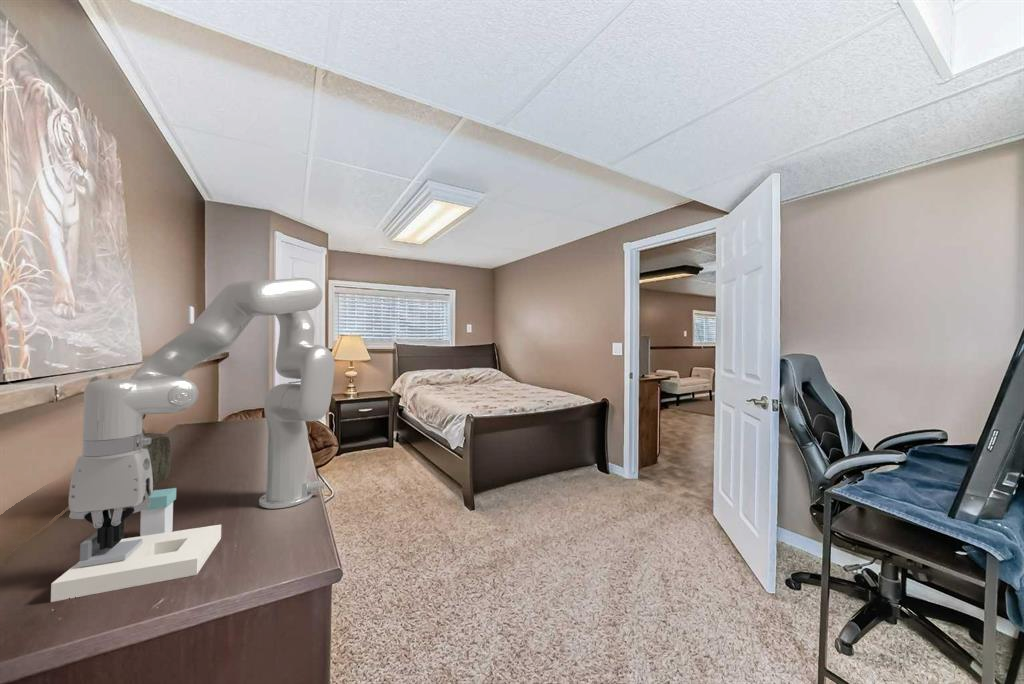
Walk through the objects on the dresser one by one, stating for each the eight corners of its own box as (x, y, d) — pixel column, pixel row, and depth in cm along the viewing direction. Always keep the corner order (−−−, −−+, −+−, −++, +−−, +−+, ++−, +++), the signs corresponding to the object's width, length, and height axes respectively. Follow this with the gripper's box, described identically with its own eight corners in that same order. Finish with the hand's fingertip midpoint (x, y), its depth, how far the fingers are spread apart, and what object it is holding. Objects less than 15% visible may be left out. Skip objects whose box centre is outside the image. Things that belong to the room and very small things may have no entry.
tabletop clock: (142, 492, 105) (144, 404, 105) (173, 493, 105) (175, 404, 105) (81, 515, 91) (84, 413, 91) (117, 516, 90) (120, 414, 91)
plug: (175, 529, 84) (176, 487, 85) (165, 539, 80) (166, 495, 80) (147, 533, 83) (148, 490, 83) (136, 544, 78) (137, 499, 78)
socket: (221, 538, 81) (221, 524, 81) (196, 574, 68) (197, 558, 68) (102, 557, 73) (103, 541, 73) (50, 602, 61) (51, 583, 61)
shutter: (142, 542, 73) (143, 523, 73) (125, 559, 67) (125, 538, 67) (99, 549, 70) (100, 529, 70) (77, 567, 65) (78, 545, 65)
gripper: (173, 437, 75) (171, 528, 75) (70, 444, 69) (68, 543, 69) (156, 447, 68) (153, 547, 68) (40, 455, 62) (37, 565, 62)
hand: (110, 545), depth 69 cm, fingers closed
